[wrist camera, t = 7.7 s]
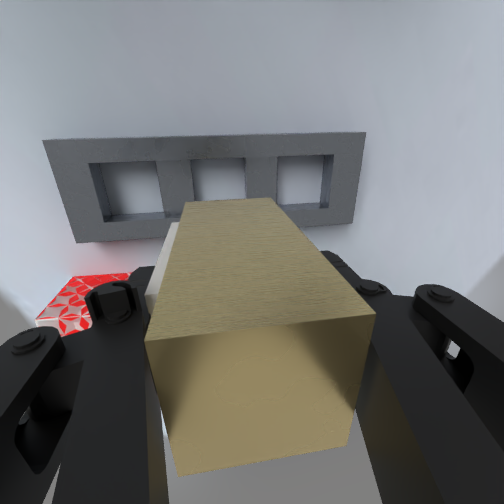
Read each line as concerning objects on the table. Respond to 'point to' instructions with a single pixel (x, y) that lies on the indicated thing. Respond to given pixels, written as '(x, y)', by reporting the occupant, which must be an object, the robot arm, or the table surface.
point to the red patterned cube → (74, 304)
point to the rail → (181, 182)
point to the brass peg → (253, 339)
